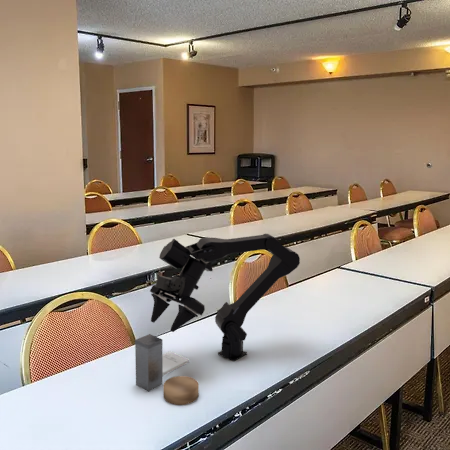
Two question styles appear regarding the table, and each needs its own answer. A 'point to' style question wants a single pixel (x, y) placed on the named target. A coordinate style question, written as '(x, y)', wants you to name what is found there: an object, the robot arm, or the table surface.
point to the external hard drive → (172, 362)
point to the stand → (180, 390)
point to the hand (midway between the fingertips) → (161, 326)
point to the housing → (149, 362)
